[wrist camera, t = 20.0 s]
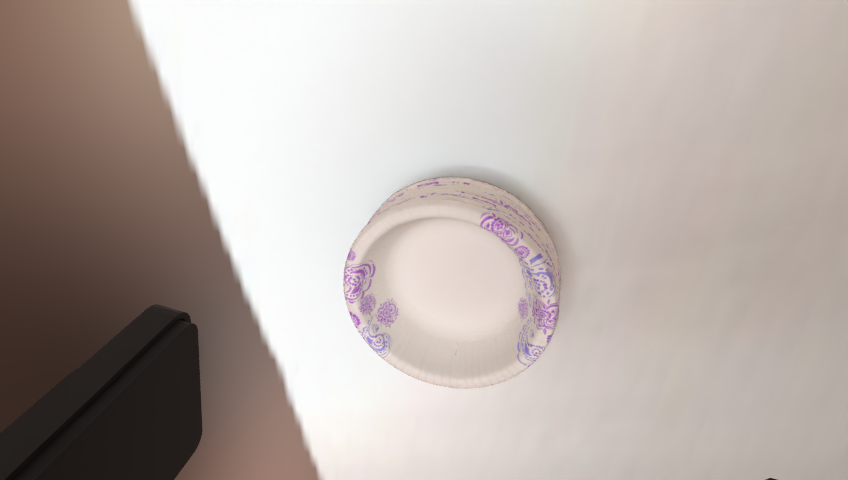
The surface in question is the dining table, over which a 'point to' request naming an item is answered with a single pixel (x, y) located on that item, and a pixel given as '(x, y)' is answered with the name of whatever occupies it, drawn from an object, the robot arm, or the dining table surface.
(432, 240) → the paper bowls
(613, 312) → the dining table surface
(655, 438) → the dining table surface
